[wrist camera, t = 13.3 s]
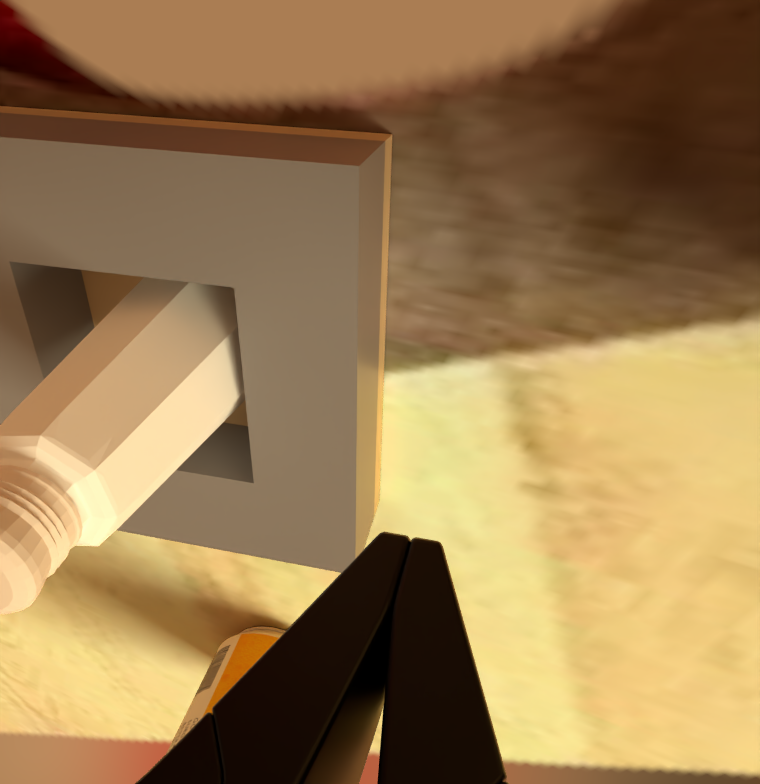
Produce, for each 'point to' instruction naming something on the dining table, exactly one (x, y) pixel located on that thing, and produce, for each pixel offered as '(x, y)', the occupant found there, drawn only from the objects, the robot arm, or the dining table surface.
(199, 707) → the beer can
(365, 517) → the socket block
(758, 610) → the dining table surface
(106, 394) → the pepper shaker
